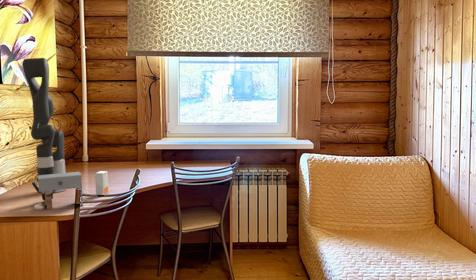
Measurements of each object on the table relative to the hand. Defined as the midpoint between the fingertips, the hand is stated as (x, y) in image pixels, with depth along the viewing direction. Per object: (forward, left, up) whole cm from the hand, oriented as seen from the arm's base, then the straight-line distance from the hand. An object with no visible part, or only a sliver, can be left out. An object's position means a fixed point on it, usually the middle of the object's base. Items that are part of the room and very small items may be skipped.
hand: (47, 200), depth 210 cm
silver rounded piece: (+11, -3, -1) cm, 12 cm away
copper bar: (+6, 0, -1) cm, 6 cm away
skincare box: (-4, +26, -1) cm, 27 cm away
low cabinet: (+11, +5, -1) cm, 12 cm away
